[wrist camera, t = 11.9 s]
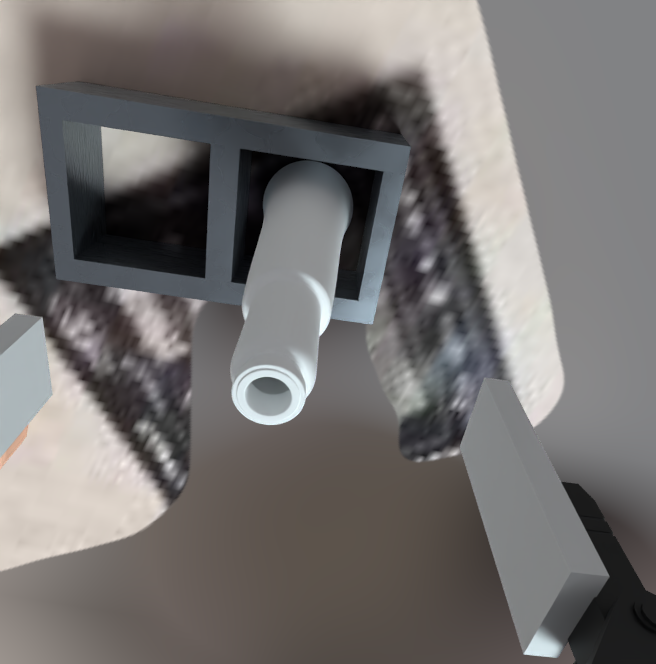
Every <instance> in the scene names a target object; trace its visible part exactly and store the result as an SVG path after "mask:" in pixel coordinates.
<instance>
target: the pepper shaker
mask: <svg viewBox="0 0 656 664" xmlns="http://www.w3.org/2000/svg"><path fill="white" fill-rule="evenodd" d="M27 428H28V425H27V426H26V427H25V429H24V430H23V431H22V432H21V433H20V435H19V436H18V437H17V438H16V440H15V441H14V442H13V443H12V444H11V446H10V447H9V448H8V449H7V450H6V452H5V453H4V454H3V455H2V457H1V458H0V469H1V468H2V466H3V465H4V464H5V463H6V461H7V460H8V459H9V458H10V457H11V455H12V454H13V453H14V452H15V450H16V449H17V448H18V447H19V446H20V444H21V443H22V442H23V440H24V439H25V437H26V435H27Z"/></svg>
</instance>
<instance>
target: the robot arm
mask: <svg viewBox="0 0 656 664" xmlns="http://www.w3.org/2000/svg"><path fill="white" fill-rule="evenodd" d="M51 396H52V387H51V379H50V372H49V364H48V356H47V349H46V341H45V334H44V326H43V318H42V317H37V316H30V315H22V314H14V315H13V316H12V317H10V318H9V319H8V320H7V321H5V322H4V323H3V324H2V325H1V326H0V458H1V457H2V455H3V454H4V453H5V452H6V450H7V449H8V448H9V447H10V446H11V444H12V443H13V442H14V441H15V440H16V438H17V437H18V436H19V435H20V433H21V432H22V431H23V430H24V429H25V427H26V426H27V425H28V424H29V422H30V421H31V420H32V419H33V418H34V416H35V415H36V414H37V413H38V411H39V410H40V409H41V408H42V407H43V405H44V404H45V403H46V402H47V401H48V399H49V398H50V397H51ZM460 449H461V452H462V455H463V458H464V461H465V465H466V468H467V471H468V475H469V478H470V481H471V484H472V488H473V491H474V494H475V498H476V501H477V504H478V507H479V511H480V514H481V517H482V520H483V524H484V527H485V530H486V533H487V536H488V540H489V543H490V546H491V550H492V553H493V556H494V559H495V563H496V566H497V569H498V572H499V575H500V579H501V582H502V585H503V589H504V592H505V595H506V598H507V602H508V605H509V608H510V612H511V615H512V618H513V621H514V625H515V628H516V631H517V634H518V638H519V641H520V644H521V647H522V651H523V654H526V655H536V656H545V657H556V658H558V657H559V655H560V653H561V652H562V650H563V649H564V647H565V646H566V644H567V643H568V642H569V644H570V647H571V650H572V652H573V655H574V657H575V660H576V661H575V662H574V664H656V595H654V594H652V593H650V592H648V591H646V590H645V588H644V587H643V585H642V583H641V581H640V579H639V578H638V576H637V574H636V573H635V571H634V569H633V567H632V565H631V564H630V562H629V560H628V558H627V557H626V555H625V553H624V551H623V550H622V548H621V546H620V544H619V542H618V541H617V539H616V537H615V536H613V532H612V530H611V529H610V527H609V525H608V523H607V522H605V521H604V516H603V514H602V513H601V511H600V509H599V507H598V506H597V504H596V502H595V500H594V499H593V498H591V496H589V494H587V492H586V491H585V490H584V489H583V488H582V487H581V486H580V485H579V484H574V483H566V482H561V481H560V479H559V477H558V475H557V473H556V472H555V469H554V467H553V465H552V464H551V462H550V460H549V458H548V456H547V454H546V452H545V450H544V448H543V446H542V444H541V442H540V440H539V438H538V436H537V434H536V433H535V431H534V429H533V427H532V425H531V423H530V421H529V419H528V417H527V415H526V413H525V411H524V409H523V407H522V405H521V403H520V401H519V399H518V397H517V396H516V394H515V392H514V390H513V388H512V386H511V384H510V382H509V381H506V380H498V379H491V378H484V380H483V383H482V386H481V389H480V392H479V394H478V397H477V400H476V403H475V406H474V409H473V411H472V414H471V417H470V420H469V423H468V425H467V428H466V431H465V434H464V437H463V439H462V442H461V445H460Z"/></svg>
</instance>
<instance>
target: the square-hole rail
mask: <svg viewBox="0 0 656 664" xmlns="http://www.w3.org/2000/svg"><path fill="white" fill-rule="evenodd" d="M36 91H37V101H38V110H39V120H40V129H41V138H42V148H43V157H44V167H45V176H46V186H47V195H48V204H49V214H50V223H51V233H52V242H53V252H54V261H55V270H56V279H60V280H67V281H74V282H81V283H88V284H95V285H101V286H108V287H115V288H122V289H129V290H136V291H143V292H150V293H157V294H164V295H171V296H178V297H185V298H192V299H199V300H206V301H213V302H220V303H227V304H234V305H240V306H242V300H243V295H244V290H245V286H246V282H247V278H248V274H249V271H250V267H251V263H252V260H253V257H254V256H249V255H244V252H245V239H246V226H247V213H248V200H249V187H250V174H251V162H252V150H253V151H259V152H265V153H272V154H278V155H284V156H290V157H297V158H303V159H309V160H315V161H322V162H328V163H334V164H341V165H347V166H353V167H359V168H366V169H372V170H375V174H374V179H373V185H372V190H371V195H370V201H369V206H368V211H367V217H366V222H365V227H364V232H363V238H362V243H361V248H360V254H359V259H358V264H357V270H356V271H350V270H343V269H338V274H337V281H336V288H335V295H334V301H333V306H332V312H331V317H330V318H331V319H338V320H345V321H352V322H359V323H366V324H372V325H373V320H374V316H375V311H376V306H377V302H378V297H379V293H380V288H381V283H382V279H383V274H384V269H385V265H386V260H387V255H388V251H389V246H390V242H391V237H392V232H393V228H394V223H395V218H396V214H397V209H398V204H399V200H400V195H401V191H402V186H403V181H404V177H405V172H406V167H407V163H408V158H409V153H410V149H411V146H410V145H409V144H408V142H407V141H406V140H405V138H404V137H403V136H402V135H401V134H396V133H390V132H384V131H378V130H372V129H366V128H360V127H353V126H347V125H341V124H335V123H329V122H323V121H317V120H311V119H305V118H299V117H292V116H286V115H280V114H274V113H268V112H262V111H256V110H250V109H244V108H238V107H231V106H225V105H219V104H213V103H207V102H201V101H195V100H189V99H183V98H176V97H170V96H164V95H158V94H152V93H146V92H140V91H134V90H128V89H122V88H115V87H109V86H103V85H97V84H91V83H85V82H79V81H78V82H68V83H58V84H48V85H39V86H36ZM101 126H103V127H109V128H115V129H121V130H128V131H134V132H140V133H146V134H153V135H159V136H165V137H171V138H178V139H184V140H190V141H197V142H203V143H209V144H211V150H210V175H209V199H208V224H207V248H206V249H202V248H195V247H189V246H182V245H175V244H168V243H162V242H155V241H148V240H142V239H135V238H128V237H121V236H115V235H108V234H107V233H106V214H105V196H104V177H103V159H102V140H101Z"/></svg>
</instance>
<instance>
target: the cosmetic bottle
mask: <svg viewBox="0 0 656 664" xmlns="http://www.w3.org/2000/svg"><path fill="white" fill-rule="evenodd" d="M263 212H264V220H263V225H262V229H261V233H260V237H259V240H258V243H257V247H256V250H255V253H254V257H253V260H252V263H251V267H250V271H249V274H248V278H247V282H246V286H245V290H244V295H243V300H242V312H243V316H244V319H245V323H244V326H243V329H242V332H241V335H240V337H239V340H238V343H237V346H236V349H235V352H234V355H233V358H232V360H231V366H230V375H231V380H232V383H233V385H232V399H233V402H234V404H235V406H236V408H237V409H238V410H239V411H240V413H241V414H243V415H244V416H245V417H247V418H248V419H250V420H252V421H254V422H257V423H260V424H266V425H276V424H281V423H285V422H287V421H289V420H291V419H293V418H294V417H295V416H296V415H298V414H299V412H300V411H301V410H302V408H303V406H304V403H305V398H306V397H307V396H308V395H309V393H310V392H311V390H312V388H313V386H314V383H315V380H316V372H317V359H318V346H319V336H320V335H321V334H322V333H323V332H324V330H325V329H326V327H327V325H328V323H329V320H330V317H331V312H332V306H333V301H334V295H335V288H336V281H337V274H338V266H339V258H340V251H341V245H342V240H343V236H344V233H345V232H346V230H347V229H348V227H349V225H350V222H351V219H352V215H353V198H352V194H351V191H350V188H349V186H348V184H347V183H346V181H345V180H344V178H343V177H342V176H341V175H340V174H339V173H338V172H337V171H336V170H334V169H333V168H332V167H330V166H328V165H326V164H324V163H321V162H317V161H310V160H304V161H297V162H293V163H291V164H288V165H286V166H285V167H283V168H282V169H280V170H279V171H278V172H277V173H276V174H275V175H274V176H273V177H272V178H271V180H270V181H269V183H268V185H267V187H266V190H265V193H264V197H263Z"/></svg>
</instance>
